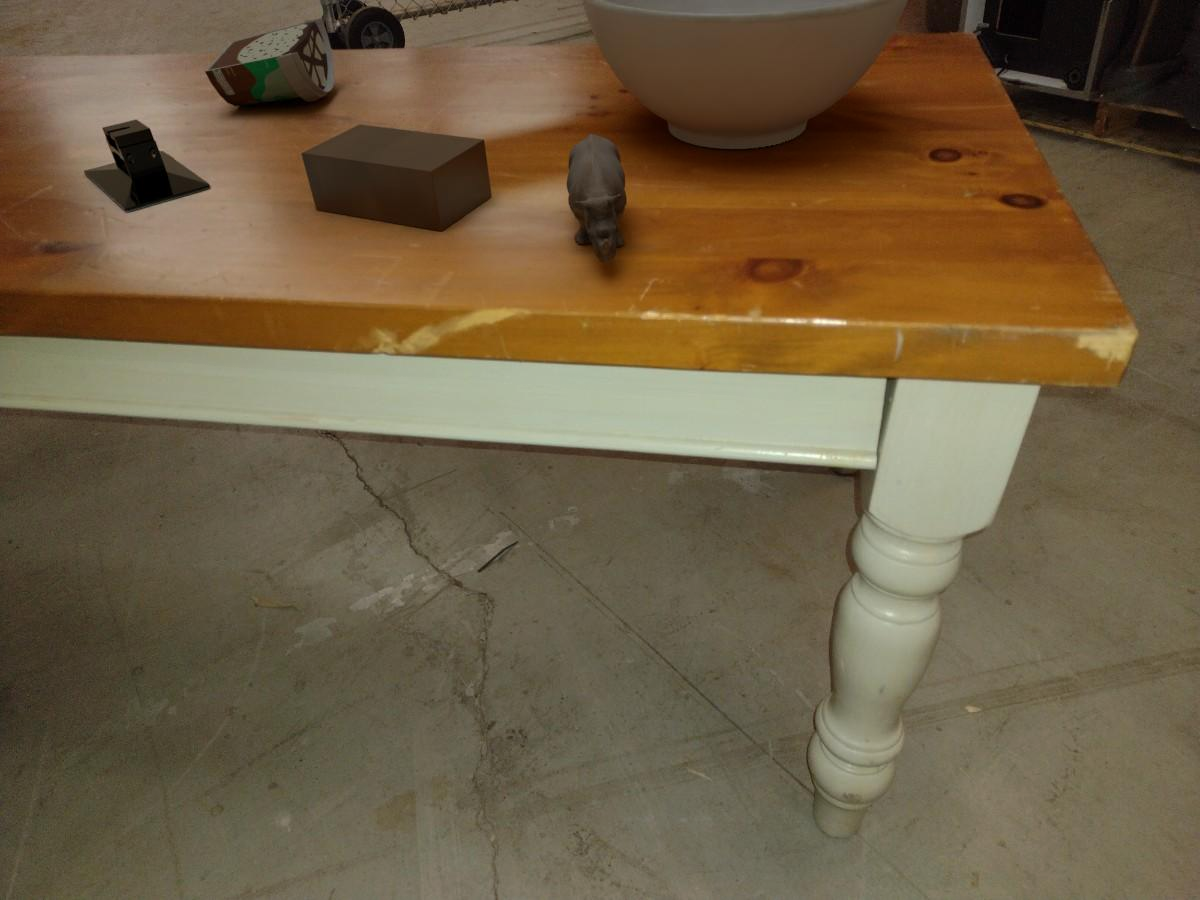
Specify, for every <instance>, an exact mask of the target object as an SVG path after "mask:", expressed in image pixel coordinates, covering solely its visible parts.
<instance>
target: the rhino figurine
mask: <svg viewBox="0 0 1200 900" xmlns="http://www.w3.org/2000/svg"><path fill="white" fill-rule="evenodd" d="M567 167H568V173H567V177H566V190H567V193H568V197H567V198H568V200H567V201H568V202H567V204H568V206H569V209H570V211H571V212H572V213H573V215H574V218H575V219H576V220H577V222H578V223H579V227H580V228H579V229H578V230H577V231H576V233H575V234H574V236H573V240H574V242H575V241H576V243H577V244H580V245H585V244H591V243H592V247H593V250H594V253H595V254H594V255H595V257H596V258H597V260H598V261H600V262H601V263H604V264H609V263H610V262H613V260H614V259H615V257H616V255H617V248H620V247H622V246H624V244H625V243H626V239H625V237H624V236H623V234H622V233H621V232H620V229H619V224H620V222H621V220H622V218H623V215H624V213H625V208H626V205H627V203H628V202H627V201H628V199H627V193H626V190H625V189H626V174H625V171H624V168H623V165H622V161H621V155H620V152H619V149H618V147H617V146H616V145H615V143H614V142H613V141H611V140H610V139H608V138H606V137H602V136H599V135H596V134H594V133H590V134H589V135H588V136H587V137H586V138H584V139H583V140H580V141H579V142H577V143H576V144H575V145H574V146H573V147H572V148H571V150H570V152H569V156H568V166H567Z"/></svg>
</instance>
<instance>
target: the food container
mask: <svg viewBox="0 0 1200 900" xmlns="http://www.w3.org/2000/svg"><path fill="white" fill-rule="evenodd" d="M329 39H330V38H329V35H328V32H327V29H326V26H325V24H324V20H323V18H322V17H319V18H312V19H307V20H304V22H299V23H297V24H292V25H289V26H285V27H281V28H278V29H274V30H273V29H272V30H270V31H267V32H263V33H259V34H255V35H252V36H247V37H244V38H241V39H240V38H239V39H236V40H232V41H231V42H230V43H229V44H228V45H227V46H226V47H225V48H224V50H223V51H222V52H221V53H220V54H219V55H218V56H217V57H216V59H215V60H213V62H212V63H211V64H210V65H209V66H208V67H207V68H206V70H204V73H205V75H206V77H207V79H208V80H209V82H210V84H211V85H212V86H213V89H214V90H215V91H216V93H217V94H218V95H219V96H220V97H221V98H222V99H223V100H224V101H225V102H226V103H227V104H229V105H231V106H233V107H241V106H246V105H247V106H248V105H254V104H259V103H260V104H262V103H268V102H276V101H282V100H290V99H297V98H301V99H302V100H303V101H305V102H307V103H313V102H315V101H317V100H319V99H321V98H323V97H325V96H326V95H327V94H328V92H331V91H332V90H333V88H334V85H335V77H336V76H335V75H336V74H335V72H336V71H335V63H334V56H333V52H332V47H331V43H330V40H329Z"/></svg>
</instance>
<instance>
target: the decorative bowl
mask: <svg viewBox="0 0 1200 900" xmlns="http://www.w3.org/2000/svg"><path fill="white" fill-rule="evenodd" d="M581 1H582V5H583V9H584V13H585V15H586V19H587V21H588V24H589V26H590V29H591V32H592V35H593V37H594V39H595V42H596V44H597V46H598V48H599V50H600V52H601V54H602V56H603V57H604V59H605V61H606V62H607V64H608V66H609V67H610V69H611V70H612V72H613V74H614V75H615V76H616V79H618V81H619V83H621V84H622V85H623V87H624V88H625V90H627V91H628V92H629V94H630V95H631V96H632V97H633V98H634V99H636V101H637V102H639V103H640V104H641V105H642V106H643V107H644V108H646V109H647V110H649V111H650V112H651V113H653V114H654V115H656V116H658V117H659V118H661V119H662V120H665V121H666V122H667V128H668V132H669V133H670V134H671V135H672V136H673V137H674V138H676V139H678V140H680V141H681V142H684V143H687V144H690V145H693V146H698V147H703V148H710V149H719V150H750V148H751V150H752V149H759V147H761V148H767V147H766V146H768V147H772V146H771V145H773V146H777V145H781V144H783V143H782V142H784V143H786V142H785V141H787V142H789V141H788V140H790V141H792V140H794V139H796V138H797V136H798V135H799V136H801V135H802V134H803V133H804V132H805V130H806V127H807V124H808V120H810V119H812V118H814V117H816V116H818V115H819V114H821V113H823V112H824V111H826V110H827V109H829V108H830V107H832V106H834V104H836V103H837V102H838V101H839V100H841V99H842V98H843V97H844V96H845V95H846V94H848V93H849V92H850V91H851V90H852V89H853V88H854V87H855V86H856V85H857V84H858V82H859V81H860V80H861V79H862V78H863V77H864V76H865V75H866V73H868V71H869V70H870V68H871V67H872V66H873V64H875V62H876V60H877V59H878V58H879V56H880V54H881V53H882V51H883V50H884V48H885V47H886V45H887V44H888V42H889V40H890V38H891V37H892V35H893V33H894V31H895V30H896V27H897V25H898V23H899V21H900V19H901V17H902V15H903V13H904V11H905V8H906V7H907V4H908V1H909V0H581ZM803 131H804V132H803ZM802 132H803V133H802ZM801 133H802V134H801ZM800 134H801V135H800ZM799 136H798V137H799ZM795 137H796V138H795ZM793 138H794V139H793ZM791 139H792V140H791ZM780 143H781V144H780ZM776 144H777V145H776Z"/></svg>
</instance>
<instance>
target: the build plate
mask: <svg viewBox="0 0 1200 900" xmlns="http://www.w3.org/2000/svg"><path fill="white" fill-rule="evenodd" d="M101 128H102V129H101V130H102V132H103V134H104V137H105V141H106V143H107V146H108V148H109V151H110V154H111V155H112V158H113V161H114V162H112V163H108V164H105V165H104V164H103V165H100V166H97V167H93V168H89V169H85V170H83V173H84V176H86V178H87V179H89V180H90V181H91V182H92V183H93V184H94V185H95V186H96V187H98V189H100V190H101V192H103V193H104V194H105V195H106V196H107V197H108V198H110V200H112V201H113V202H114V203H115V204H116V205H117V206H118V207H120V209H122V210H123V211H124V212H125V213H129V212H133V211H136V210H140V209H143V208H146V207H150V206H153V205H157V204H161V203H165V202H167V201H171V200H174V199H179V198H182V197H186V196H190V195H193V194H195V193H199V192H202V191H205V190H209V189H211V185H210V183H209V182H208V181H206V180H205V179H203V178H202V177H200V176H199V175H198V174H196V173H195V172H193V170H190V169H189V168H188V167H187V166H185V165H183V164H182V163H181V162H180V161H178V160H176V158H174V157H173V156H171V155H170V154H169V153H167V152H165V151H164V150H160V149H159V147H158V144H157V141H156V140H155V138H154V135H153V131H152V130H151V128H150V127H148V126H147V125H146V124H145V123H143V122H141V121H139V120H138V119H132V120H129V121H124V122H120V123H116V124H111V125H107V126H103V127H101Z"/></svg>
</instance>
